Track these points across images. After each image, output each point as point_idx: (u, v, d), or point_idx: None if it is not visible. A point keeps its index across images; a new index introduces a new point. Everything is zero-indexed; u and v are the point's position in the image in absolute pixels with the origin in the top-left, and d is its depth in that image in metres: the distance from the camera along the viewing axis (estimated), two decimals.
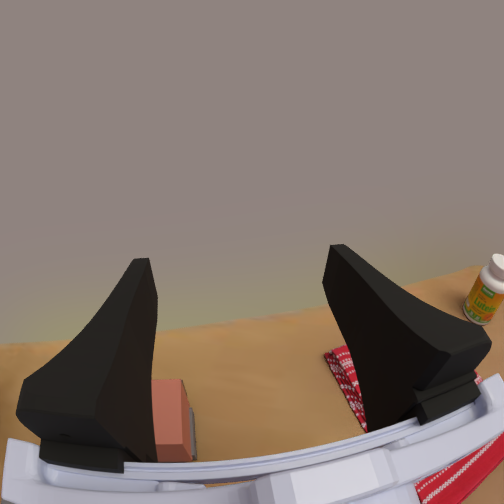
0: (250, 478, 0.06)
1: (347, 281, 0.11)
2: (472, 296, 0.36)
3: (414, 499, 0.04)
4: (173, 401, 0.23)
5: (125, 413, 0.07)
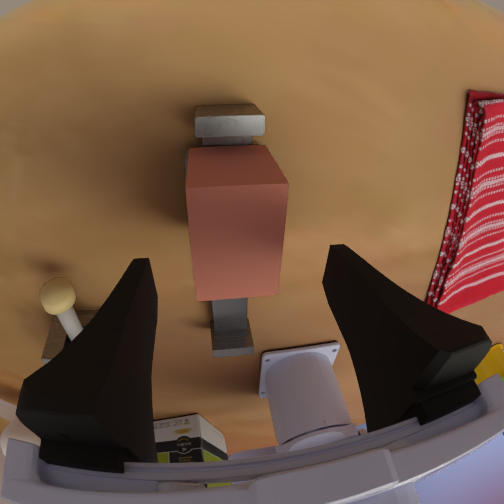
0: (250, 478, 0.06)
1: (347, 281, 0.11)
2: None
3: (414, 499, 0.04)
4: (270, 231, 0.13)
5: (125, 413, 0.07)
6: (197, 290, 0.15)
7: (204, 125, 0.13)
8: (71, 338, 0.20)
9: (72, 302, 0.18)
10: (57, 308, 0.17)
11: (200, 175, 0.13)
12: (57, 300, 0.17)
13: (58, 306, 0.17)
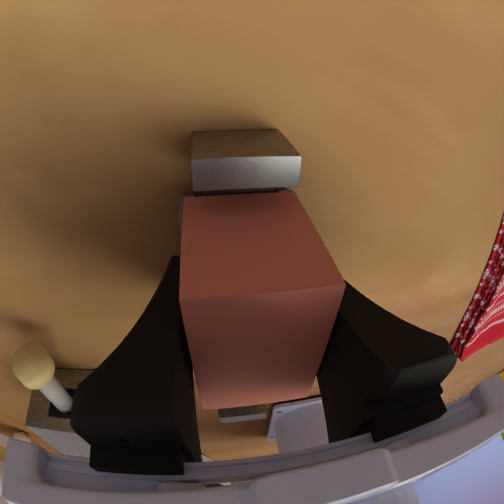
0: (250, 478, 0.06)
1: None
2: None
3: (414, 499, 0.04)
4: (310, 341, 0.09)
5: (185, 412, 0.07)
6: (203, 401, 0.10)
7: (206, 172, 0.09)
8: (56, 406, 0.15)
9: (51, 375, 0.14)
10: (34, 384, 0.13)
11: (202, 264, 0.08)
12: (32, 376, 0.13)
13: (34, 382, 0.13)
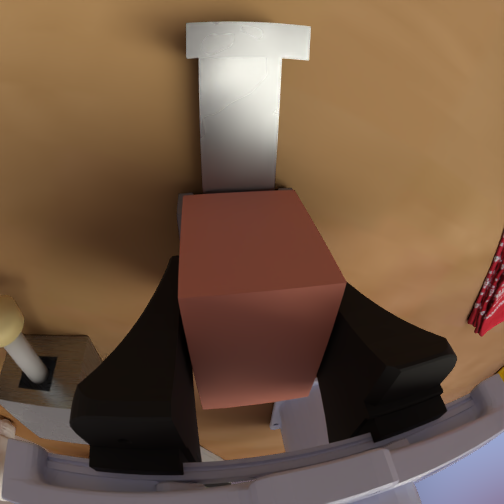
0: (250, 478, 0.06)
1: None
2: None
3: (414, 499, 0.04)
4: (309, 341, 0.09)
5: (184, 412, 0.07)
6: (202, 401, 0.10)
7: (203, 36, 0.06)
8: (26, 374, 0.13)
9: (18, 331, 0.11)
10: None
11: (201, 262, 0.08)
12: None
13: None
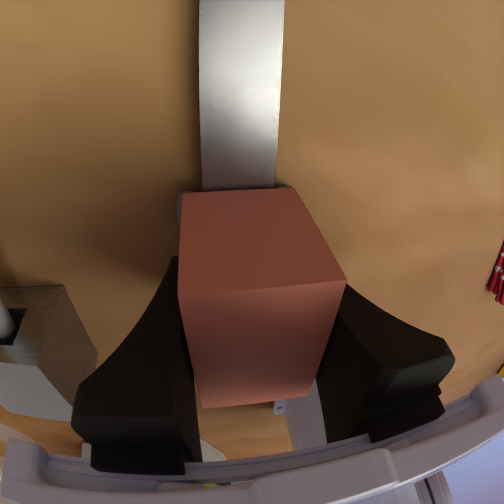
0: (250, 478, 0.06)
1: None
2: None
3: (414, 499, 0.04)
4: (310, 339, 0.09)
5: (186, 412, 0.07)
6: (202, 399, 0.10)
7: None
8: None
9: None
10: None
11: (200, 259, 0.08)
12: None
13: None
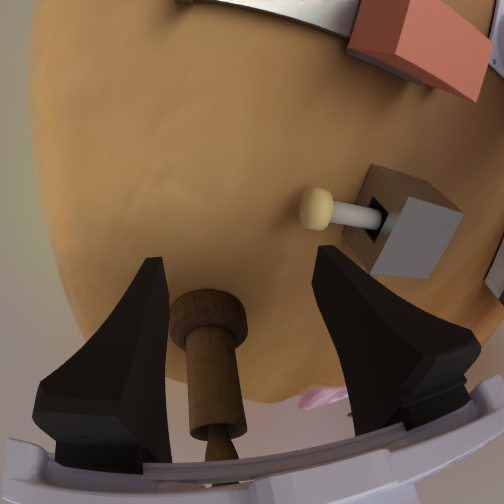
0: (250, 478, 0.06)
1: (335, 282, 0.11)
2: None
3: (414, 499, 0.04)
4: (446, 15, 0.09)
5: (144, 413, 0.07)
6: (468, 96, 0.12)
7: None
8: (368, 225, 0.20)
9: (329, 194, 0.18)
10: (324, 212, 0.18)
11: (384, 41, 0.11)
12: (316, 207, 0.18)
13: (323, 210, 0.18)
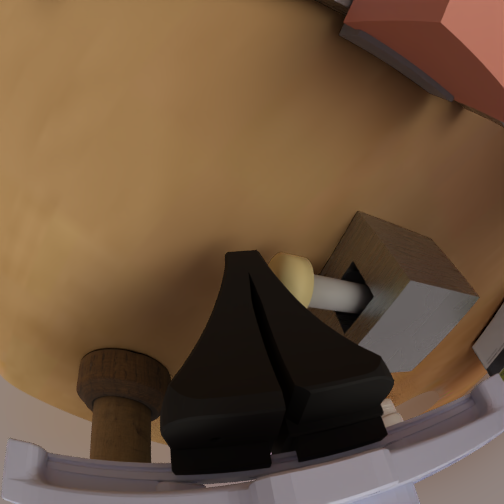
0: (250, 478, 0.06)
1: None
2: None
3: (414, 499, 0.04)
4: None
5: None
6: None
7: None
8: (360, 311, 0.14)
9: (309, 270, 0.12)
10: (298, 300, 0.12)
11: (415, 4, 0.05)
12: None
13: (296, 296, 0.12)
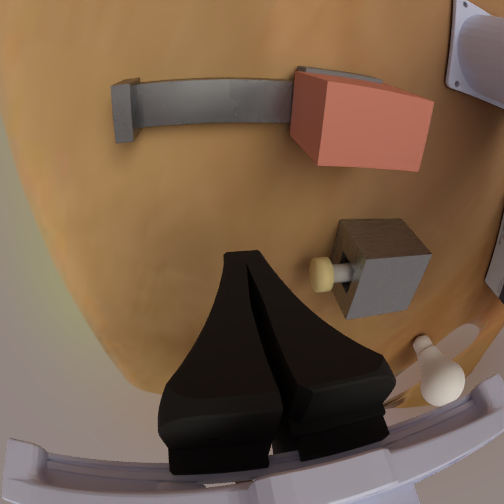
0: (250, 478, 0.06)
1: (251, 291, 0.11)
2: None
3: (414, 499, 0.04)
4: (370, 100, 0.12)
5: None
6: (408, 169, 0.15)
7: (122, 134, 0.15)
8: None
9: (329, 264, 0.22)
10: (327, 281, 0.22)
11: (310, 145, 0.15)
12: (320, 278, 0.22)
13: (325, 279, 0.22)
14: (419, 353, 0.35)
